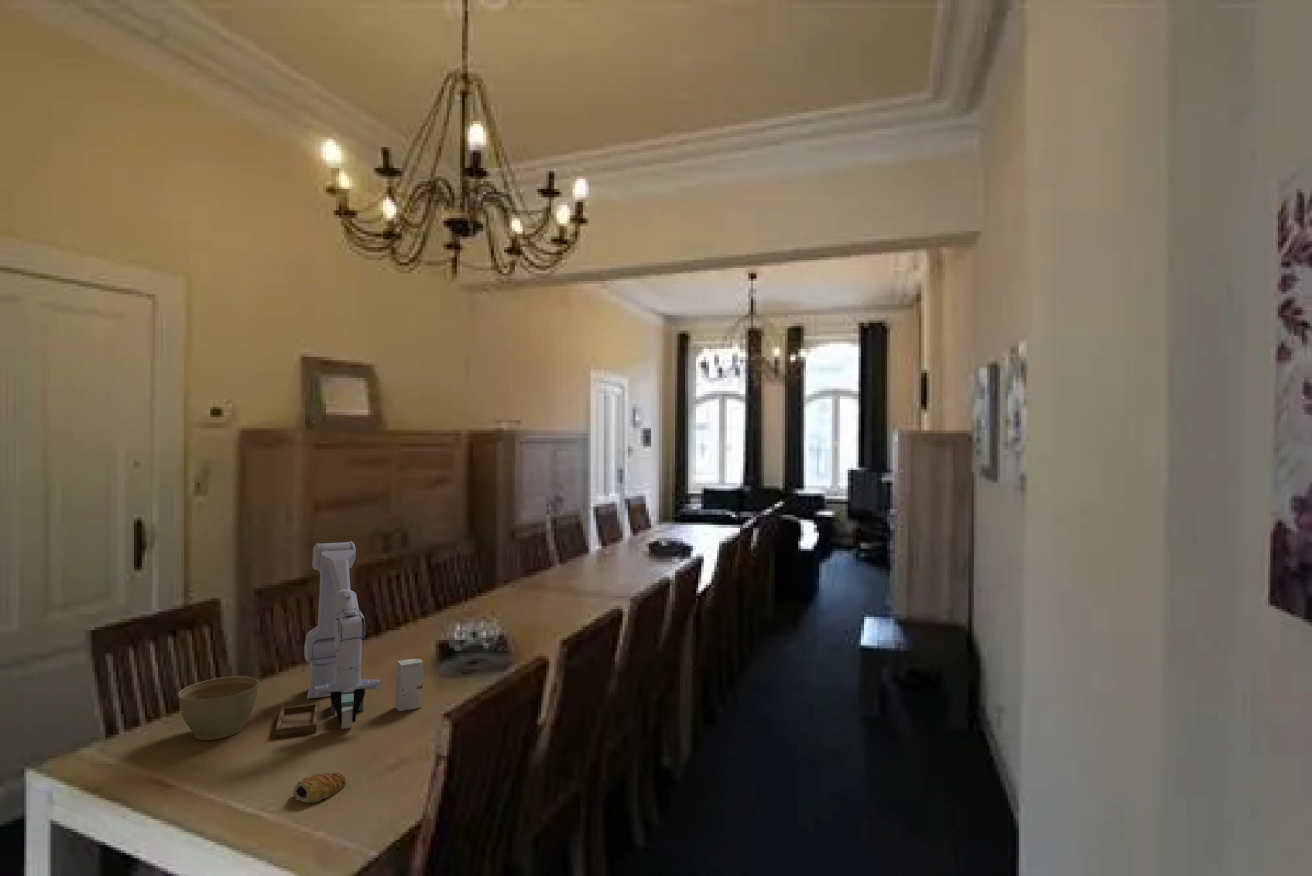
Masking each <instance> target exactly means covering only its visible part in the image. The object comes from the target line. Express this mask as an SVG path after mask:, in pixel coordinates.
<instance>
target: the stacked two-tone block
mask: <svg viewBox="0 0 1312 876" xmlns="http://www.w3.org/2000/svg"><path fill="white" fill-rule="evenodd" d="M353 704H354V693H352V694H343V695H342V698H341V710H342V724H340V726H341V728H340V729H341V730H342V729H343V730H344V729H352V728H353V722H352V715H353ZM355 722H356V720H355Z"/></svg>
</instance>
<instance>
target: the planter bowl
mask: <svg viewBox="0 0 1312 876" xmlns="http://www.w3.org/2000/svg"><path fill="white" fill-rule="evenodd" d="M258 688H259V680H258V679H257V678H254V677H251V676H241V675H239V676H238V675H237V676H224V677H217V678H211V679H207V680H204V681H200V682H197V683H193V684H191V685H188V686H186V687H184V688H182V689H181V690H180V691H179V692H178V699H179V708H180V714H181V716H182V719H183V721H184V722H185V724H186V725H187V727H188V728H189V729H190V730H191V731H192V732H193V734H194V738H195V739H197V740H201V741H212V740H213V741H214V740H220V739H225V738H227V737H231V736H233V735H235V734H237V733H239V732H240V731H241V730H242V729H243V724H244V723H245V721H246V720H247V719H248V717H250V714H251V713H252V711H253V709H254V706H255V703H256V700H257V696H258V695H257V694H258Z"/></svg>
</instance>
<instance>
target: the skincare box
mask: <svg viewBox="0 0 1312 876" xmlns="http://www.w3.org/2000/svg"><path fill="white" fill-rule="evenodd" d="M395 678H396V679H395V704H394V707H395V708H396V710H397V711H398V712H404V711H409V710H414V709H416V710H417V709H420V708H422V706H423V703H422V702H423V686H424V685H423V682H424V681H423V680H424V661H423V660H422V659H421V658H419V657H418V658H411V659H410V658H409V659H403V660H397V661H396V677H395Z"/></svg>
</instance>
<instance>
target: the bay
mask: <svg viewBox="0 0 1312 876" xmlns="http://www.w3.org/2000/svg"><path fill="white" fill-rule="evenodd" d="M352 693H354V691H351V692H342V695H343V694H352ZM359 711H361V712H364V699H363V700H362V702H361V704H360V706H359V708H358V712H359ZM335 715H336V710H335V708H334V705H333V704H332V702H331V701H330V716H335Z"/></svg>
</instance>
